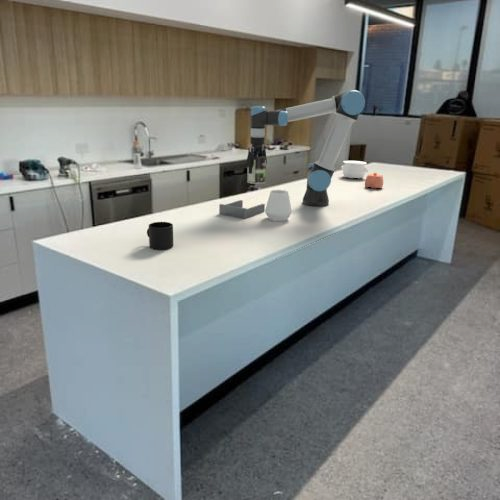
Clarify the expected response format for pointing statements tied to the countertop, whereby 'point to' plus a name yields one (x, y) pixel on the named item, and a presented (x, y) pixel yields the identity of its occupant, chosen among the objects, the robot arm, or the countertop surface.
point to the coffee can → (258, 170)
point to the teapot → (374, 181)
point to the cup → (278, 206)
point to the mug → (160, 235)
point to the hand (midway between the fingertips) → (256, 178)
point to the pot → (354, 169)
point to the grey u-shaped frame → (240, 210)
